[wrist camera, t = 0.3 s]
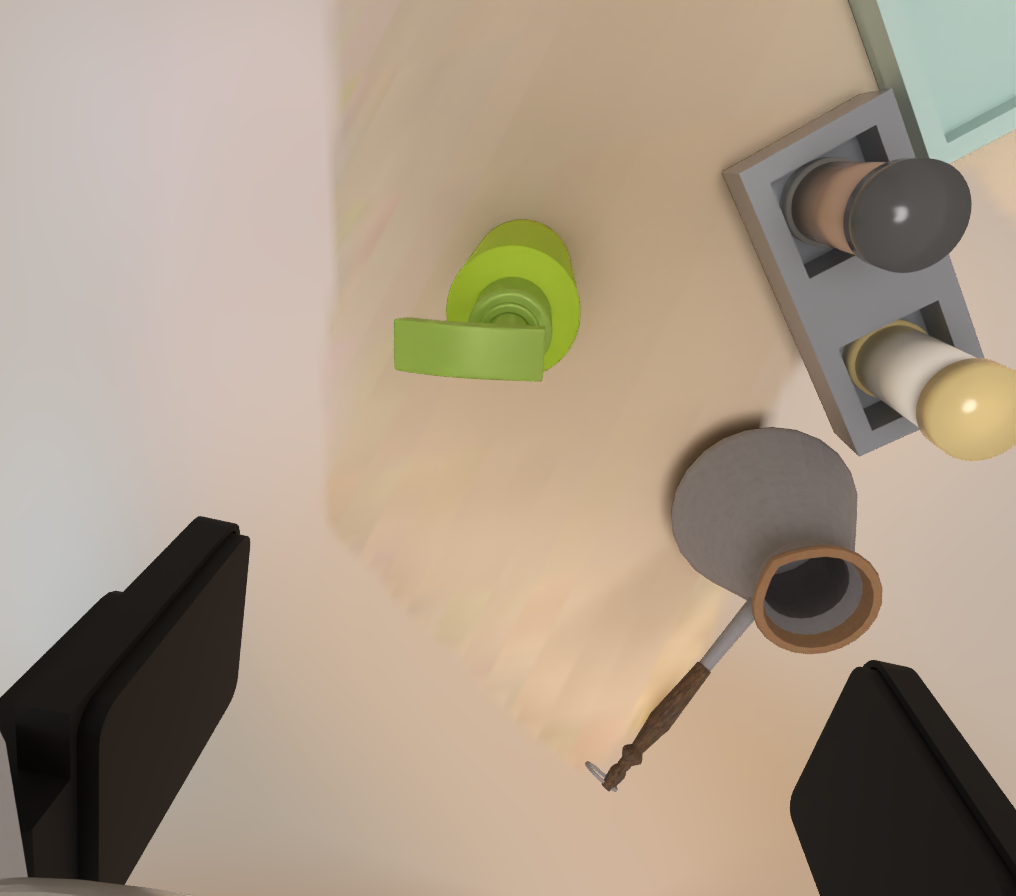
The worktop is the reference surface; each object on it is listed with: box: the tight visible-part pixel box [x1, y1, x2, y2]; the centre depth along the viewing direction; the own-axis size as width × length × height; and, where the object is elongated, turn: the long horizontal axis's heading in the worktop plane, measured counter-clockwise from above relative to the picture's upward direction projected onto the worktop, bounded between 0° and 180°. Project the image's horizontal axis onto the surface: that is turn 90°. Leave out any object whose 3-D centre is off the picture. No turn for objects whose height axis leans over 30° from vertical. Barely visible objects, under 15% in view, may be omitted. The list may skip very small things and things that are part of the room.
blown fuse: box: [779, 157, 971, 273], centre depth 35 cm, size 5×5×11 cm
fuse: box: [842, 318, 1016, 461], centre depth 39 cm, size 5×5×11 cm
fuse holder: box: [722, 88, 984, 456], centre depth 41 cm, size 18×8×4 cm, turn 29°
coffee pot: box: [585, 427, 882, 792], centre depth 43 cm, size 21×12×15 cm, turn 136°
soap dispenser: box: [394, 220, 580, 381], centre depth 35 cm, size 6×7×20 cm
